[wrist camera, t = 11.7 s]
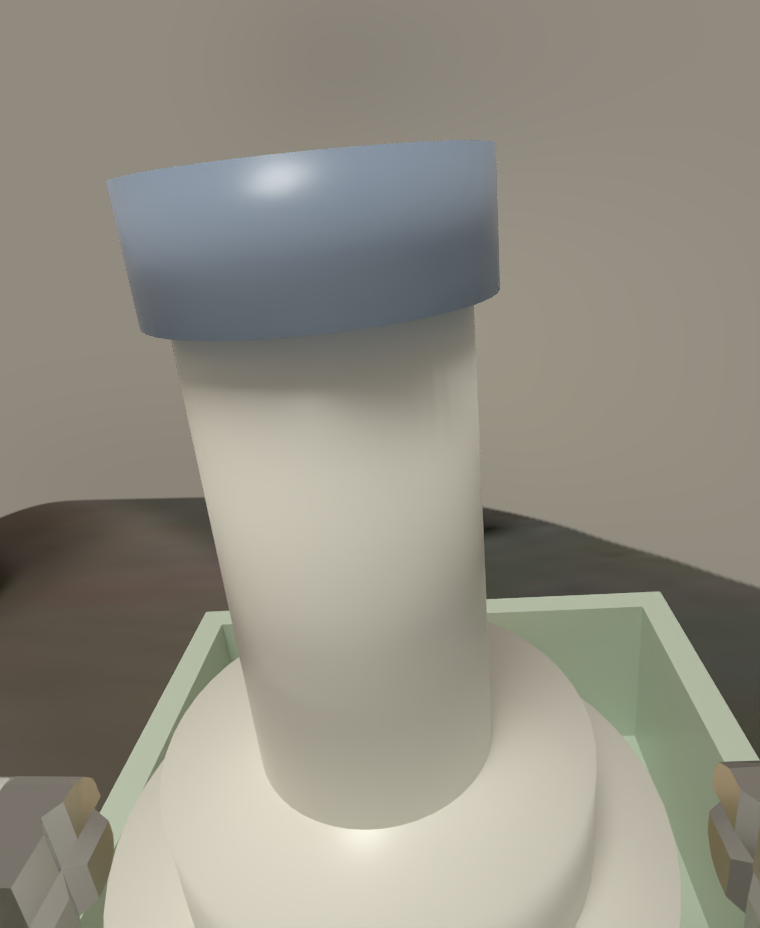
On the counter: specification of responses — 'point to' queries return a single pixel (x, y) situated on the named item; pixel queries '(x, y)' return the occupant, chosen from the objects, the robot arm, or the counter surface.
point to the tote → (596, 681)
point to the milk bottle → (361, 577)
